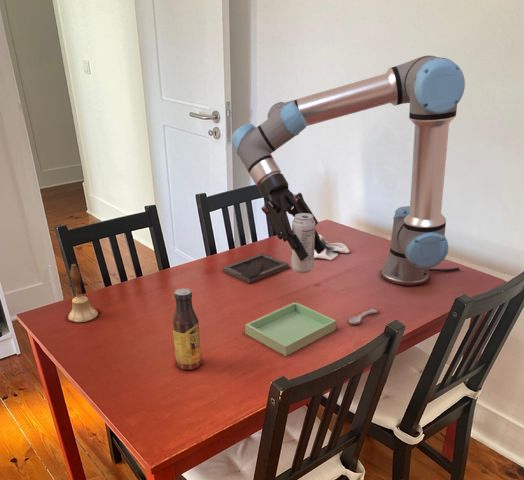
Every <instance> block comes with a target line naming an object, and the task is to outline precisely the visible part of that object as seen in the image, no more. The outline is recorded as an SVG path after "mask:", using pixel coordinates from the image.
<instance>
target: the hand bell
mask: <svg viewBox="0 0 524 480" xmlns="http://www.w3.org/2000/svg"><path fill="white" fill-rule="evenodd" d="M70 278H71V281H72V283H73V285H74V290H75V296H74V297H73V298H72V300H71V311H70V312H69V314H68V316H67V318H68V321H71V322H74V323H86V322H90V321H92V320H94V319H96V318H97V317H98V315H99V312H98V311H97V310H96V309H95V308H94V307H93V306H92V305H91V303H90V300H89V298H88V297H87V296H86V295H83V291H82V287H81V282H82V275H81V272H80V270H79V268H78V266H77V264H76V263H71V265H70Z"/></svg>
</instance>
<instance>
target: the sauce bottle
mask: <svg viewBox="0 0 524 480" xmlns="http://www.w3.org/2000/svg"><path fill="white" fill-rule="evenodd" d="M173 293H174V295H173V296H174V300H175V309H176V310H175V311H174V313H173V315H172V333H173V343H174V353H175V360H176V365H177V368H179V369H180V370H185V371H192V370H195V369H197V368H198V367H200V366H201V364H202V349H201V334H200V323H199V321H200V320H199V318H198V316H197V314H196V312H195V310H194V307H193V306H194V305H193V301H192V299H193V291H192V290H191V289H190V288H186V287H183V288H177V289H176V290H174V292H173Z"/></svg>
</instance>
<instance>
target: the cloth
mask: <svg viewBox="0 0 524 480" xmlns="http://www.w3.org/2000/svg"><path fill="white" fill-rule="evenodd" d="M318 235H319V236H320V240H321V242H322V244H323V245H324V247H325V250H323V251H322V252H321V253H320V254H317V252H316V250H315V249H314V259H319V260H329V261H332V260H334V259H335V258H337V257H338V255H339V253H341V254H349V253H350V252H351V251H350V249H349V248H348V247H347V245H346V244H345V243H344V242H329V241H327V240H326V239H325V237H324V236H323V235H322V234H320V233H318Z"/></svg>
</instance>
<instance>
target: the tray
mask: <svg viewBox="0 0 524 480" xmlns="http://www.w3.org/2000/svg"><path fill="white" fill-rule="evenodd" d="M244 328H245V329H244V331H245V332H244V333H245V335H247V336H248V337H250V338H252V339H253V340H256V341H257V342H259V343H261V344H263V345H264V346H266V347H268V348H270V349H271V350H274V351H275V352H277V353H279V354H281V355H283V356H284V357H288V356H289V355H291V354H292V353H294V352H297V351H298V350H300V349H302V348H304V347H305V346H308V345H309V344H312V343H313V342H315V341H318V340H319V339H320V338H321V339H322V338H323V337H325V336H327V335H328V334H331V333H332V332H334V331H335V330H336V329H337V320H336V319H334V318H332V317H330V316H328V315H325V314H323V313H320V312H319V311H317V310H314V309H312V308H310V307H307V306H306V305H304V304H302V303H299V302H297V301H294V302H291V303H289V304H287V305H285V306H283V307H281V308H277V309H276V310H274V311H271V312H269V313H268V314H265V315H263V316H261V317H259V318H256V319H253V320H252V321H250V322H248V323H245V324H244Z"/></svg>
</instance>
